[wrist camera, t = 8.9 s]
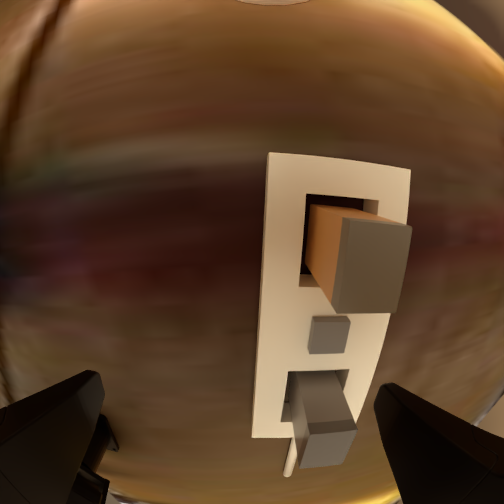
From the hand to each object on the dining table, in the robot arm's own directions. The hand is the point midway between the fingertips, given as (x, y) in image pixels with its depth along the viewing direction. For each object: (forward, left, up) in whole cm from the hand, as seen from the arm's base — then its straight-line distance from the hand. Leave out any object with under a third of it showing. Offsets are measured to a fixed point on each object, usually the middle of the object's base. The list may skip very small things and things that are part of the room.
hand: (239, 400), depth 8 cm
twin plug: (-9, -6, -12) cm, 16 cm away
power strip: (-8, -6, -12) cm, 16 cm away
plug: (+3, -5, -12) cm, 14 cm away
